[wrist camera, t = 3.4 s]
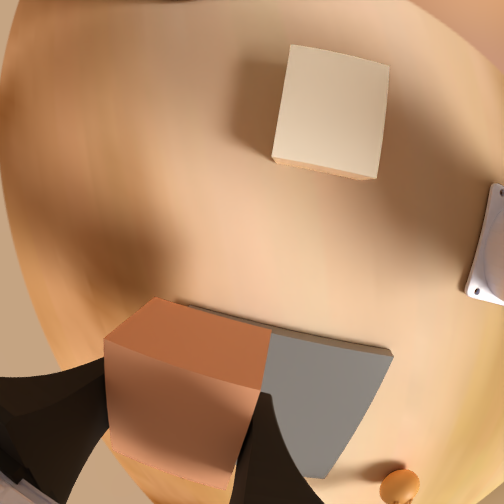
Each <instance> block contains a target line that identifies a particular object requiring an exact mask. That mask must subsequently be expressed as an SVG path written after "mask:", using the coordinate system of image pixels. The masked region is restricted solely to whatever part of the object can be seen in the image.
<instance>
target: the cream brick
mask: <svg viewBox="0 0 504 504" xmlns="http://www.w3.org/2000/svg"><path fill="white" fill-rule="evenodd" d="M389 70H390V66H388V65H385V64H382V63H378V62H375V61H371V60H367V59H364V58H360V57H356V56H352V55H347V54H343V53H338V52H334V51H329V50H324V49H318V48H313V47H307V46H300V45H294V44H291V46H290V52H289V58H288V64H287V70H286V76H285V81H284V87H283V93H282V99H281V105H280V110H279V116H278V122H277V128H276V133H275V139H274V145H273V151H272V156H271V157H272V158H273V160H274V161H275V162H276V163H277V164H282V165H288V166H293V167H299V168H304V169H309V170H314V171H319V172H324V173H328V174H333V175H338V176H342V177H347V178H351V179H355V180H359V181H360V180H369V179H377V173H378V167H379V161H380V154H381V147H382V140H383V132H384V124H385V116H386V106H387V96H388V84H389Z"/></svg>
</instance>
